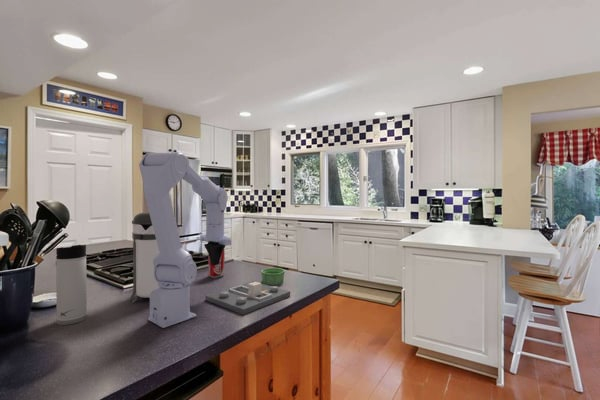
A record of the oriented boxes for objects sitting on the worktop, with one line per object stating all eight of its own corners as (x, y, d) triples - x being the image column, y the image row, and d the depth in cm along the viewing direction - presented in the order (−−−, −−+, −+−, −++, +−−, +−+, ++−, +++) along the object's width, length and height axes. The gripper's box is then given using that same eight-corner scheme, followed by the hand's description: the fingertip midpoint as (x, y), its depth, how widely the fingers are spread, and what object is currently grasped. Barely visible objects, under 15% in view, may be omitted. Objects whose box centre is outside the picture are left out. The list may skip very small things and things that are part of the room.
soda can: (207, 275, 124) (207, 245, 123) (222, 273, 126) (222, 244, 126) (209, 278, 118) (209, 248, 118) (225, 277, 121) (225, 247, 120)
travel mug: (63, 328, 74) (62, 247, 74) (52, 321, 78) (51, 244, 77) (91, 319, 80) (91, 243, 79) (80, 313, 83) (79, 241, 83)
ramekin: (269, 287, 109) (269, 275, 108) (256, 281, 116) (256, 270, 115) (289, 282, 114) (289, 271, 114) (276, 277, 121) (276, 266, 121)
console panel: (243, 314, 83) (243, 305, 83) (205, 300, 94) (205, 291, 94) (290, 295, 99) (290, 287, 99) (252, 285, 110) (252, 277, 110)
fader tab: (253, 296, 93) (253, 285, 93) (248, 295, 94) (248, 283, 94) (261, 294, 95) (261, 282, 95) (255, 292, 97) (255, 281, 97)
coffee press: (190, 295, 98) (190, 204, 98) (138, 309, 87) (137, 205, 86) (167, 284, 110) (167, 202, 110) (118, 294, 99) (118, 203, 98)
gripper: (238, 224, 98) (238, 266, 98) (212, 221, 107) (212, 259, 107) (220, 226, 93) (220, 270, 93) (194, 223, 102) (194, 263, 102)
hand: (215, 264), depth 100 cm, fingers closed
